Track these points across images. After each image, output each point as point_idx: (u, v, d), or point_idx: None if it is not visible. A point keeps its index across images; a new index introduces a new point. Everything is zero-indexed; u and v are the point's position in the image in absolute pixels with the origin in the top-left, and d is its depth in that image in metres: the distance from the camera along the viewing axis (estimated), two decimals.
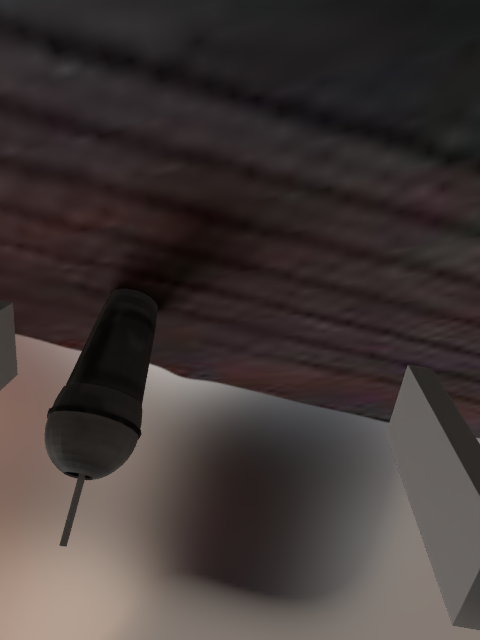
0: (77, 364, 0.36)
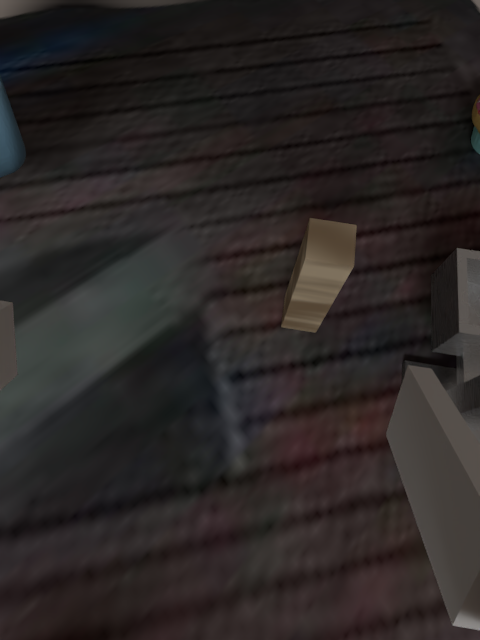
0: None
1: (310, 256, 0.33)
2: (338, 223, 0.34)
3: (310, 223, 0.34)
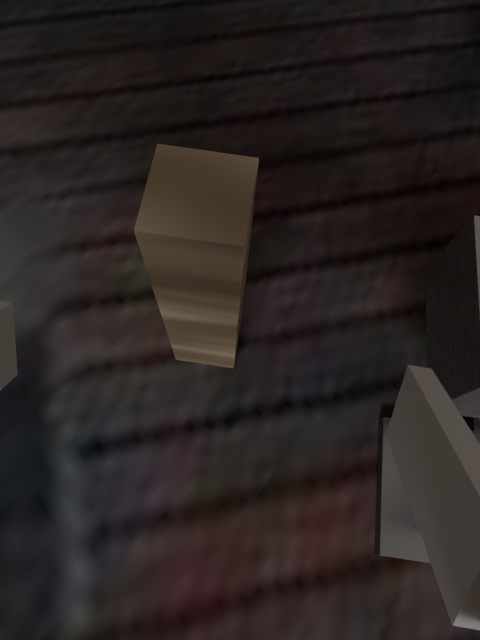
0: None
1: (146, 226, 0.14)
2: (219, 154, 0.15)
3: (157, 154, 0.15)
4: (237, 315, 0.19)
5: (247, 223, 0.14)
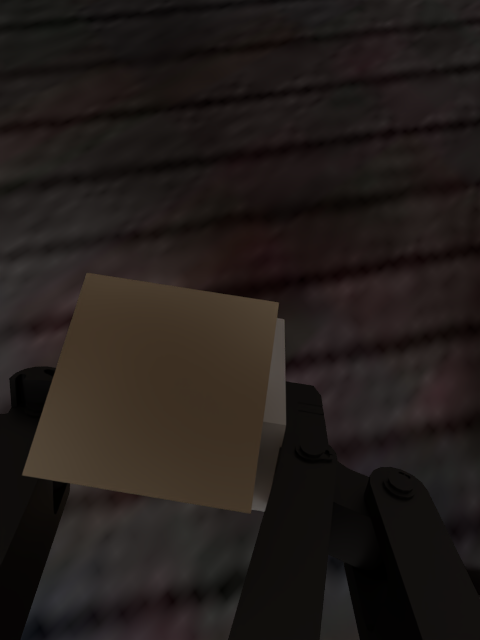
0: None
1: (49, 462, 0.07)
2: (203, 296, 0.08)
3: (84, 296, 0.08)
4: None
5: (256, 454, 0.07)
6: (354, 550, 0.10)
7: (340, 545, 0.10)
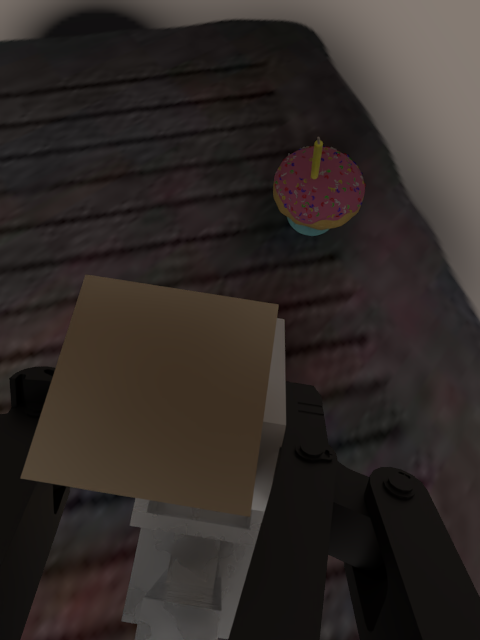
0: None
1: (48, 465, 0.07)
2: (202, 298, 0.08)
3: (83, 298, 0.08)
4: None
5: (256, 457, 0.07)
6: (354, 550, 0.10)
7: (340, 545, 0.10)
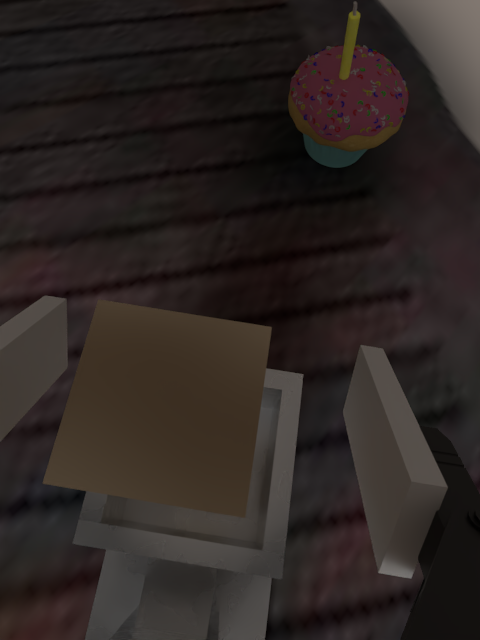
0: None
1: (67, 472, 0.08)
2: (203, 321, 0.09)
3: (96, 321, 0.09)
4: None
5: (250, 465, 0.08)
6: None
7: None
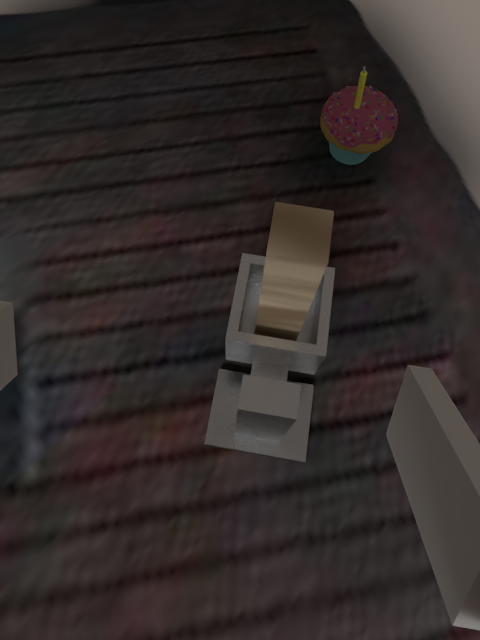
0: None
1: (273, 249, 0.26)
2: (311, 208, 0.27)
3: (275, 208, 0.27)
4: (310, 304, 0.31)
5: (329, 249, 0.26)
6: None
7: None
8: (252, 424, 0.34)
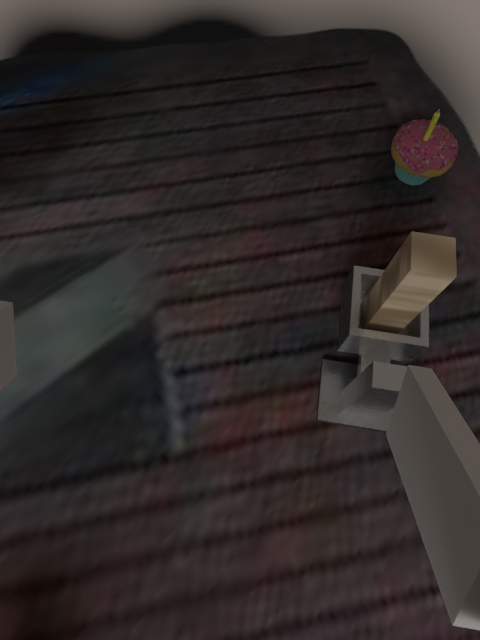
0: None
1: (415, 267, 0.35)
2: (438, 236, 0.36)
3: (412, 236, 0.36)
4: (425, 306, 0.40)
5: (455, 266, 0.35)
6: None
7: None
8: (370, 401, 0.44)
